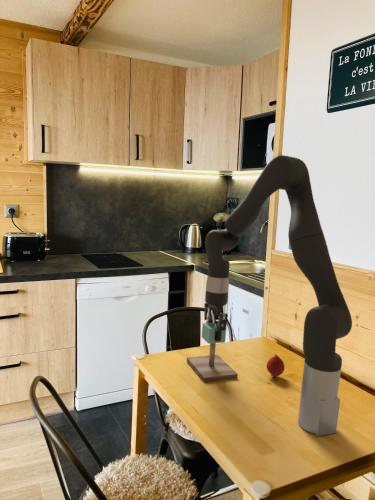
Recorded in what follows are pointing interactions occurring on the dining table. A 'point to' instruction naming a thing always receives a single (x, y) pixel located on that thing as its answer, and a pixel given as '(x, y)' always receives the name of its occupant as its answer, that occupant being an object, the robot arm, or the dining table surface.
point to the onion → (275, 366)
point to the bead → (211, 333)
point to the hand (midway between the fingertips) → (213, 337)
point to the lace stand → (211, 367)
